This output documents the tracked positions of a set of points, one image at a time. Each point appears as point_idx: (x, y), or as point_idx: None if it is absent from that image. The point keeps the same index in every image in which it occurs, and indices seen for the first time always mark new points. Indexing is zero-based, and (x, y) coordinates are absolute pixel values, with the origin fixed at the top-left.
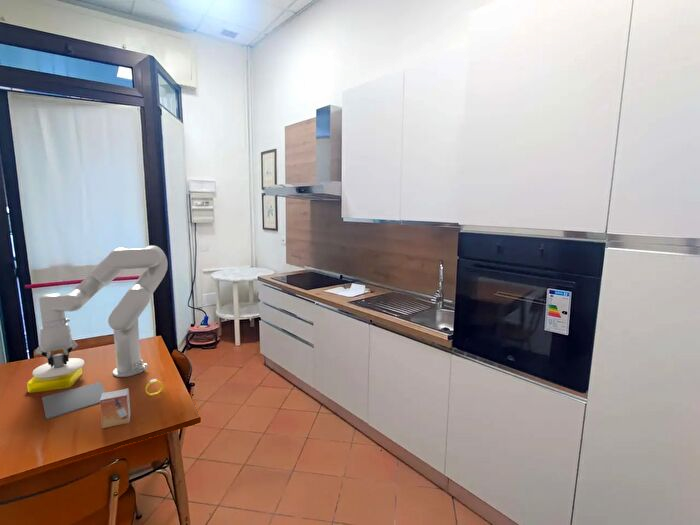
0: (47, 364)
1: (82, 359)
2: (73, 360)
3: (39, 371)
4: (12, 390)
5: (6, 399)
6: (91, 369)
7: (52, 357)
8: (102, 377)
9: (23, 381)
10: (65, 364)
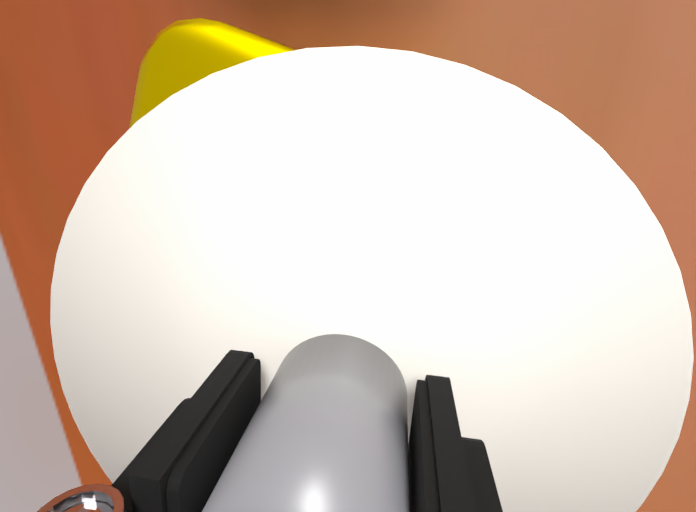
0: (180, 181)
1: (690, 320)
2: (552, 266)
3: (129, 402)
4: (34, 222)
5: (48, 368)
6: (671, 148)
7: (194, 498)
8: (683, 442)
9: (59, 46)
10: (419, 369)
